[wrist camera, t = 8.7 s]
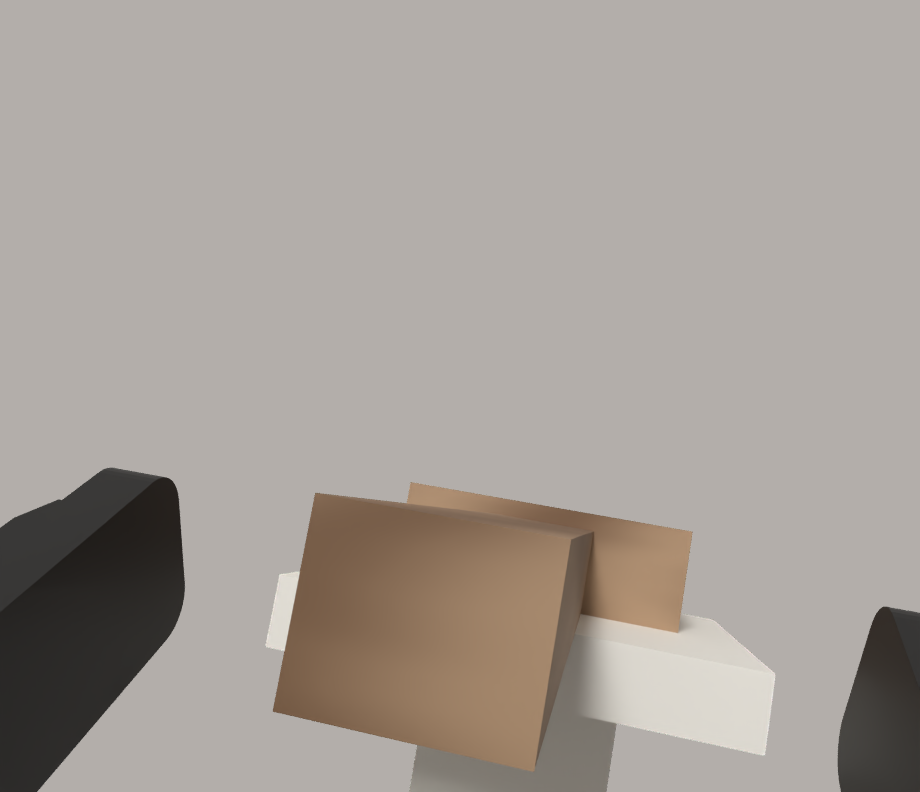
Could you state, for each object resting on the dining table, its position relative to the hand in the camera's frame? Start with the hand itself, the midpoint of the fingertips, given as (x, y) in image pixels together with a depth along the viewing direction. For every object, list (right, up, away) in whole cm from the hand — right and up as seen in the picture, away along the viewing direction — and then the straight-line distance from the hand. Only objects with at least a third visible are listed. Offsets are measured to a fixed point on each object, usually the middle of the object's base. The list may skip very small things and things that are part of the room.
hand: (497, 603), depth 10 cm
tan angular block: (+1, -2, +7) cm, 8 cm away
